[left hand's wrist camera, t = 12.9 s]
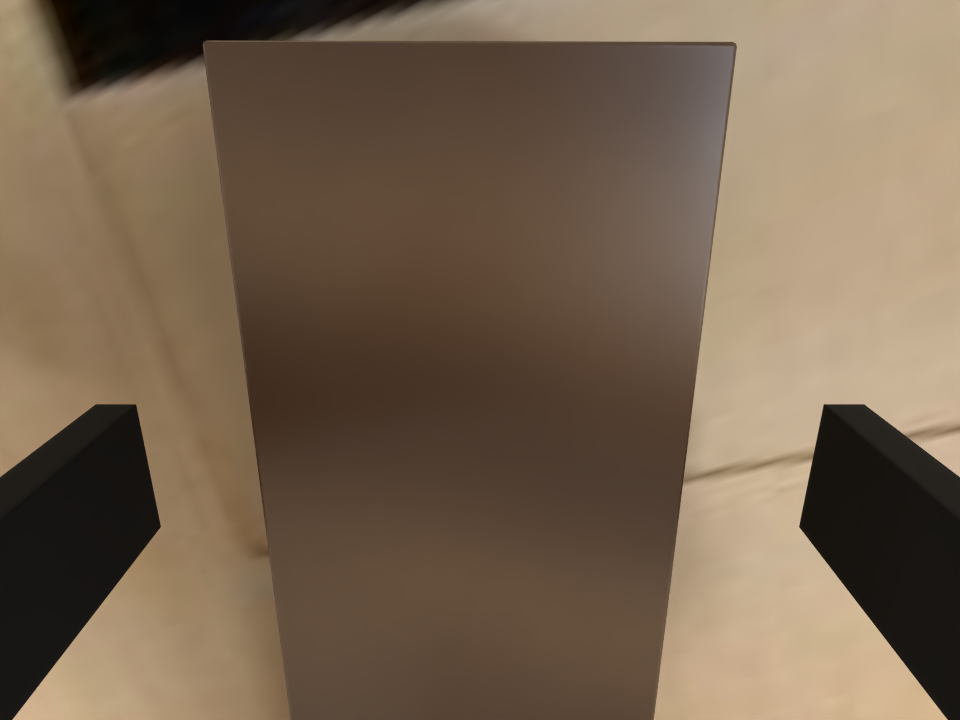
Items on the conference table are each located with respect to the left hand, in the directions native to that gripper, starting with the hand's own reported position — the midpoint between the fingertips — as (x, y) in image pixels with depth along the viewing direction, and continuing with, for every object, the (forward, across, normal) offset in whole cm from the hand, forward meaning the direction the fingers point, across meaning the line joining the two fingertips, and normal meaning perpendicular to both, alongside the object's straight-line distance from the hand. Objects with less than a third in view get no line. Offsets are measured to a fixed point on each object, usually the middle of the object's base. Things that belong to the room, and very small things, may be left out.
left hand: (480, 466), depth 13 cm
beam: (+5, 0, -16) cm, 17 cm away
